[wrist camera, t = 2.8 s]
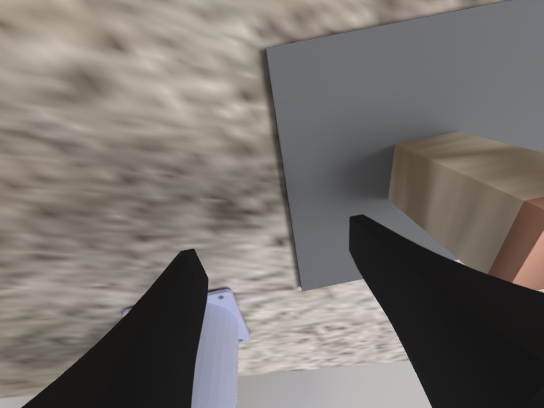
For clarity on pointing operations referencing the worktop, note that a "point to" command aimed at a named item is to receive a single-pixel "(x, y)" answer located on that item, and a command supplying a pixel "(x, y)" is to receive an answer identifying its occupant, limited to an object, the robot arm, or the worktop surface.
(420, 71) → the mat
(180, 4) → the worktop surface
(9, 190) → the worktop surface
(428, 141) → the block
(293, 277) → the worktop surface
